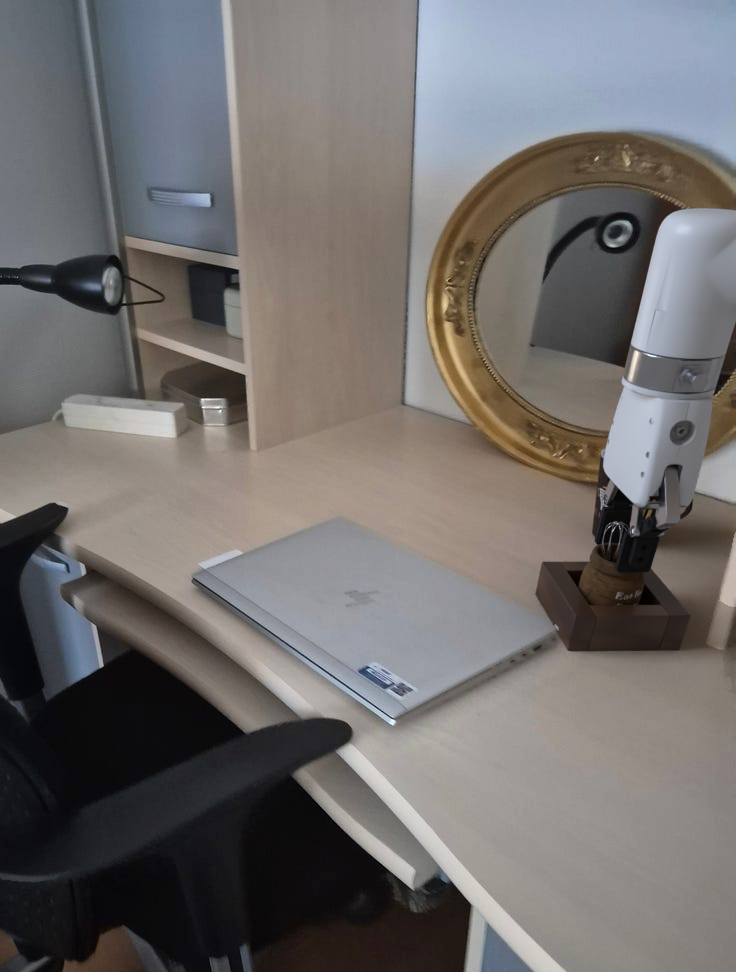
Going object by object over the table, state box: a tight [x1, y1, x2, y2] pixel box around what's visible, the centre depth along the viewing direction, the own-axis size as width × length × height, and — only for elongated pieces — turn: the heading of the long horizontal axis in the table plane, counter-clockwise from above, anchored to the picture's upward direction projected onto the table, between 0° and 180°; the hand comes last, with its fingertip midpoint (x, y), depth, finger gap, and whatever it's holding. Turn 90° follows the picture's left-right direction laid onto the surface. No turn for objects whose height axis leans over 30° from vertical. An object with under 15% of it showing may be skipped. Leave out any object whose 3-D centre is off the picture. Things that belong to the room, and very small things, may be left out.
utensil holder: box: [578, 498, 656, 605], centre depth 83 cm, size 6×6×12 cm
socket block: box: [534, 560, 691, 651], centre depth 85 cm, size 11×11×4 cm
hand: (621, 555), depth 82 cm, fingers closed on utensil holder, 4 cm apart
